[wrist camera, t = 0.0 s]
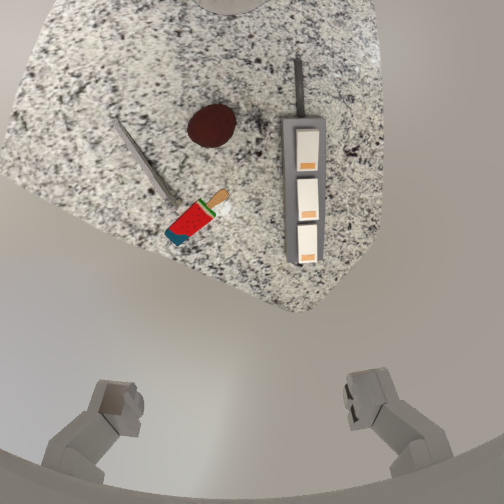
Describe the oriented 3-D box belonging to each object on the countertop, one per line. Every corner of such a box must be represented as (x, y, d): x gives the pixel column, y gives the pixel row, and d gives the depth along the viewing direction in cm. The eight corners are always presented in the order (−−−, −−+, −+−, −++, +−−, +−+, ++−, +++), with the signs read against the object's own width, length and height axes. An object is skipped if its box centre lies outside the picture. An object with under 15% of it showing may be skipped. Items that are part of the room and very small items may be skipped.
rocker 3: (296, 224, 55) (298, 226, 54) (315, 223, 55) (317, 225, 54) (298, 261, 58) (299, 263, 56) (315, 259, 58) (317, 262, 56)
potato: (242, 137, 52) (242, 144, 47) (197, 150, 53) (191, 158, 47) (231, 98, 48) (229, 99, 43) (185, 112, 49) (178, 115, 44)
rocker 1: (296, 129, 45) (297, 132, 44) (317, 128, 45) (319, 131, 44) (296, 168, 50) (297, 171, 49) (316, 167, 50) (317, 171, 49)
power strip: (276, 58, 44) (279, 55, 40) (317, 58, 44) (324, 56, 40) (285, 252, 64) (287, 265, 59) (318, 249, 63) (323, 262, 59)
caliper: (183, 199, 58) (176, 212, 52) (178, 202, 58) (171, 215, 52) (117, 117, 49) (103, 122, 43) (113, 121, 49) (98, 126, 44)
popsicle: (234, 201, 57) (178, 248, 61) (234, 198, 58) (180, 244, 63) (217, 183, 55) (162, 232, 60) (218, 181, 56) (164, 229, 61)
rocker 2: (296, 178, 51) (297, 179, 50) (316, 178, 51) (317, 178, 50) (298, 219, 53) (299, 221, 52) (317, 218, 53) (319, 219, 52)
